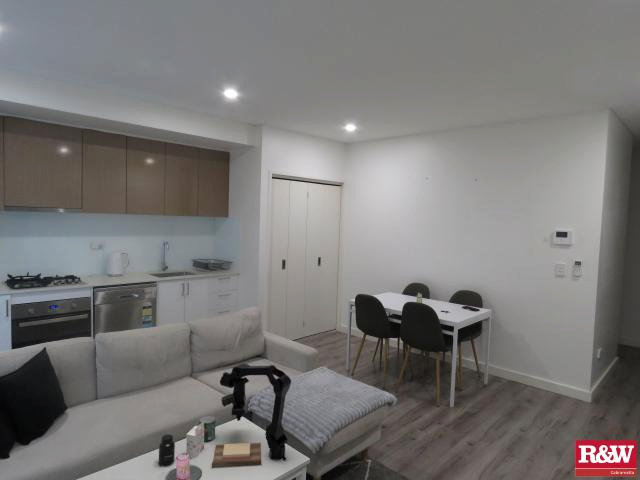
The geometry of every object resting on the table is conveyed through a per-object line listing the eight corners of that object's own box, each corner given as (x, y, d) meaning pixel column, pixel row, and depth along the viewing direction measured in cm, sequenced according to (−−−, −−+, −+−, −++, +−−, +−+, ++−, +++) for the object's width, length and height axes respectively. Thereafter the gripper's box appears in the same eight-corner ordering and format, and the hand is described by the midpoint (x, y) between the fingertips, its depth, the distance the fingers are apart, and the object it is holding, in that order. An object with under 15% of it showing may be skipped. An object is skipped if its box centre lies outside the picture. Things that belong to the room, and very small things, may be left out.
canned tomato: (195, 443, 204) (196, 421, 204) (203, 435, 212) (204, 414, 211) (210, 445, 202) (210, 423, 202) (217, 437, 210) (218, 416, 209)
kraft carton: (224, 454, 193) (224, 444, 193) (249, 453, 195) (250, 442, 195) (222, 465, 184) (222, 455, 184) (249, 464, 186) (249, 453, 186)
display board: (215, 446, 201) (215, 440, 201) (260, 444, 205) (260, 438, 205) (211, 470, 182) (211, 463, 182) (261, 467, 186) (261, 460, 186)
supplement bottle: (167, 468, 183) (167, 442, 182) (155, 464, 185) (155, 438, 185) (177, 460, 189) (178, 434, 189) (165, 456, 192) (166, 431, 191)
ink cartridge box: (194, 448, 199) (195, 419, 198) (204, 450, 198) (204, 420, 197) (185, 458, 191) (186, 427, 190) (195, 460, 190) (196, 429, 189)
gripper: (224, 382, 211) (223, 412, 212) (221, 398, 193) (220, 430, 193) (246, 382, 213) (245, 411, 214) (245, 397, 195) (244, 429, 195)
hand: (238, 420), depth 204 cm, fingers closed
